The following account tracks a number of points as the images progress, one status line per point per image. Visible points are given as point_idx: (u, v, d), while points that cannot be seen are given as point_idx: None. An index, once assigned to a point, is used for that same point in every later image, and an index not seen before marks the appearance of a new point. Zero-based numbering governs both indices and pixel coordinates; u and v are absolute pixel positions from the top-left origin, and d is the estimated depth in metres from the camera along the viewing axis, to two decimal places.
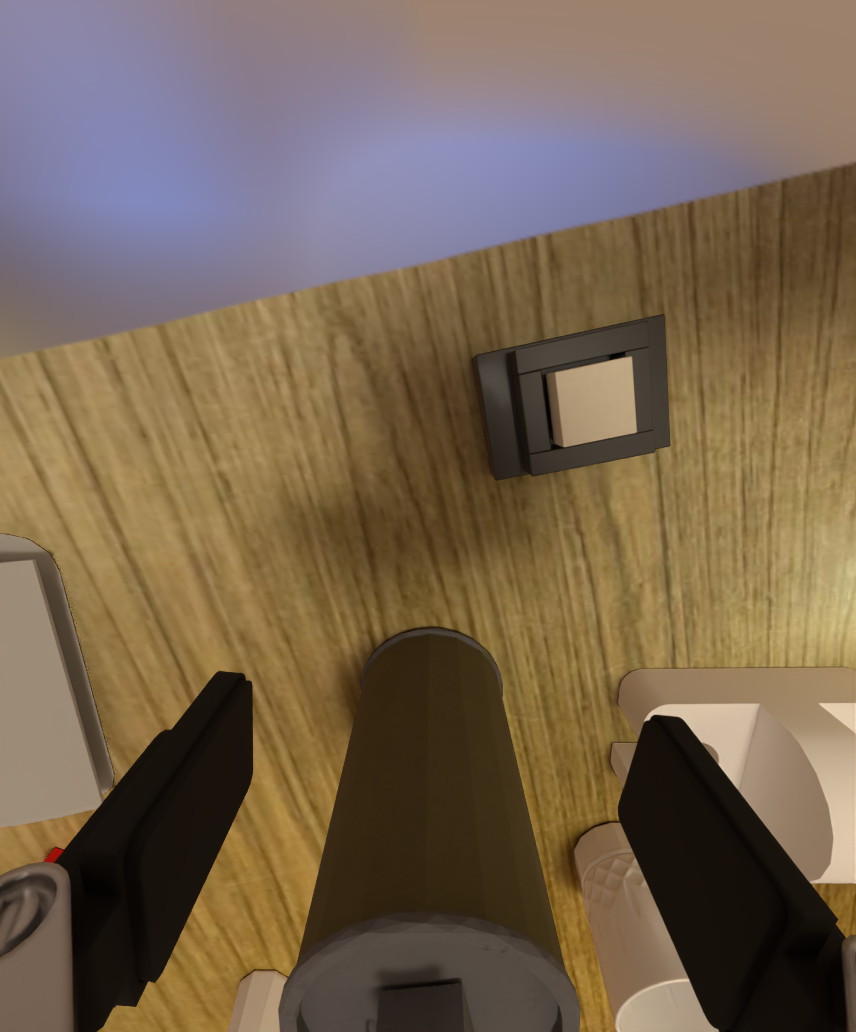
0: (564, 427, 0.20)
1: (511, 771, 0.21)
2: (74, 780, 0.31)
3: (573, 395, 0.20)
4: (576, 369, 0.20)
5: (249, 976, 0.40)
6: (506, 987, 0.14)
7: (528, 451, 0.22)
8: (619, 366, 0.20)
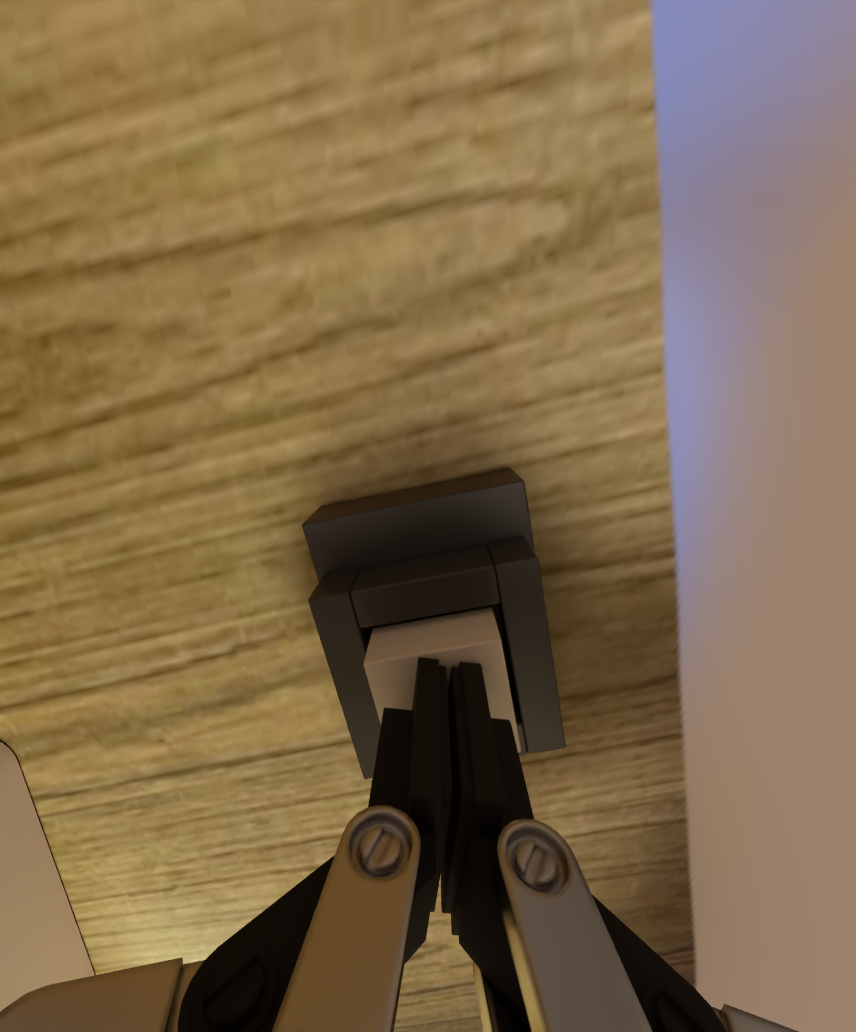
0: (399, 662, 0.11)
1: None
2: None
3: None
4: (504, 673, 0.11)
5: None
6: None
7: (355, 589, 0.12)
8: None
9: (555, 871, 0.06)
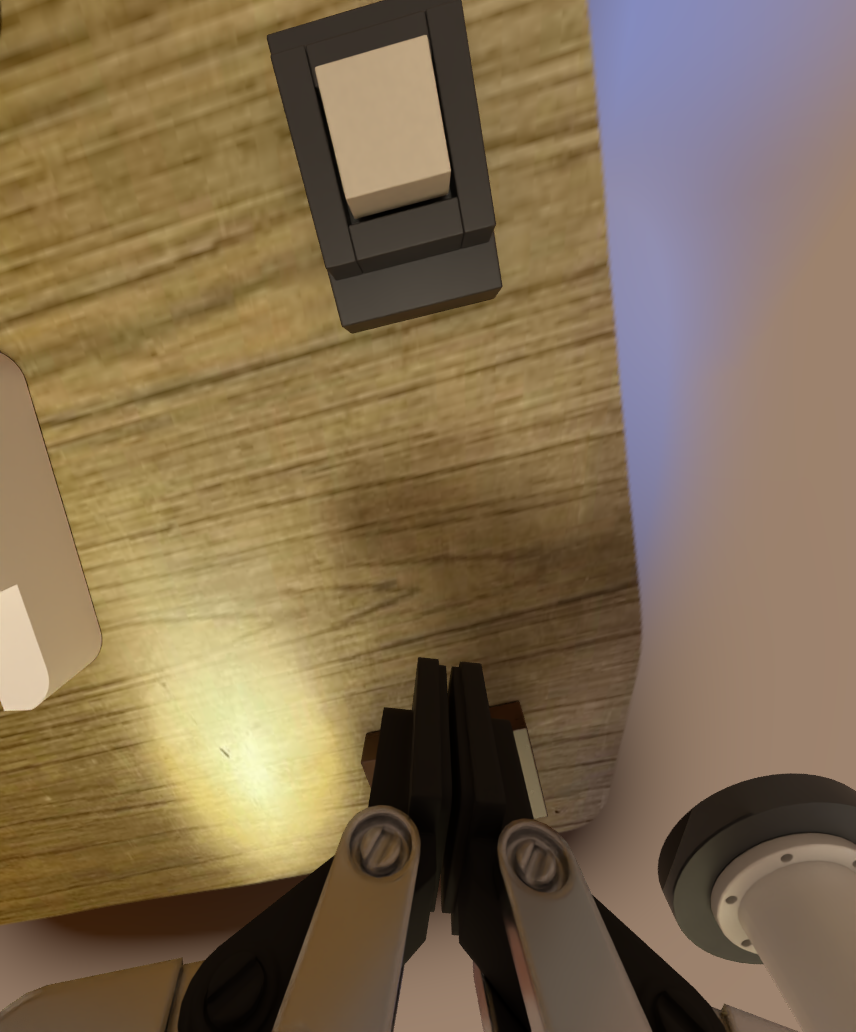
0: (344, 63, 0.13)
1: None
2: None
3: (393, 74, 0.13)
4: (431, 74, 0.13)
5: None
6: None
7: (309, 46, 0.14)
8: (437, 152, 0.14)
9: (555, 871, 0.06)
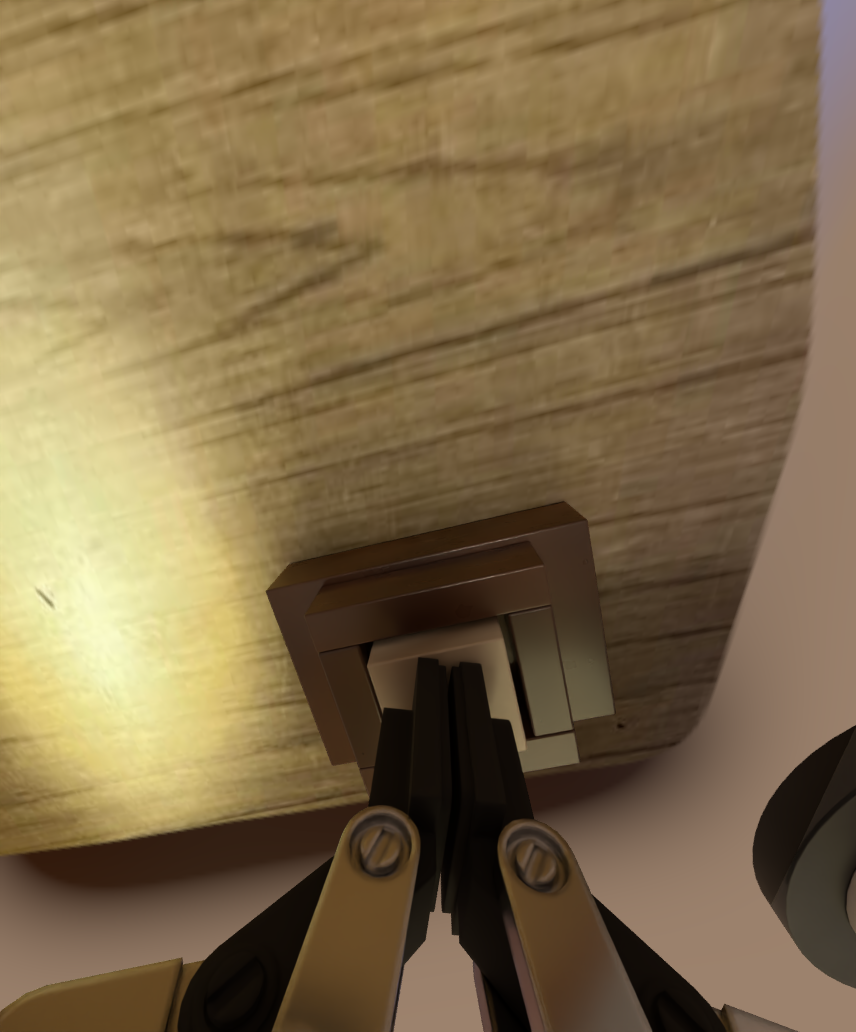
0: None
1: None
2: None
3: None
4: None
5: None
6: None
7: None
8: None
9: (555, 871, 0.06)
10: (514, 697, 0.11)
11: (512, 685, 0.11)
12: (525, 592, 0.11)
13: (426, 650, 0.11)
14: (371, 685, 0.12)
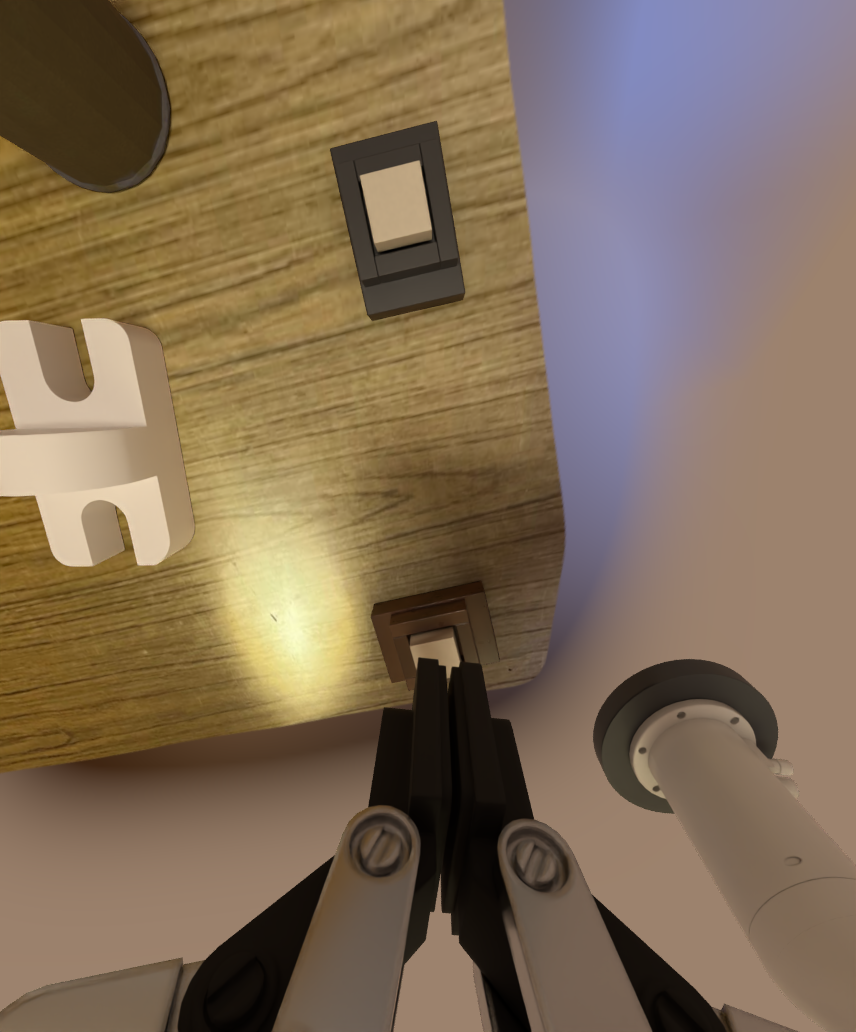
0: (375, 173, 0.24)
1: (14, 69, 0.20)
2: None
3: (401, 179, 0.24)
4: (421, 180, 0.24)
5: None
6: None
7: (356, 160, 0.25)
8: (424, 219, 0.25)
9: (555, 871, 0.06)
10: (458, 656, 0.33)
11: (457, 652, 0.33)
12: (460, 618, 0.34)
13: (429, 641, 0.33)
14: None
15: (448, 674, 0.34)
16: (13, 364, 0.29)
